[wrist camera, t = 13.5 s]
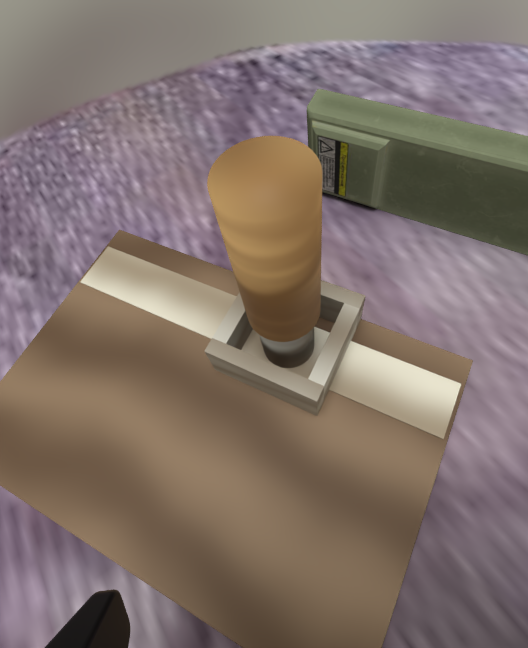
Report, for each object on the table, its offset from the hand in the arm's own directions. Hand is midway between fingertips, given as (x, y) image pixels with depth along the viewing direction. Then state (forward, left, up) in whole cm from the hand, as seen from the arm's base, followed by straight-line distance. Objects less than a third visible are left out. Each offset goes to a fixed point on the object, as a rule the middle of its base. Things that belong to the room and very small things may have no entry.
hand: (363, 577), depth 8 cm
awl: (+8, +6, -12) cm, 16 cm away
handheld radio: (+21, -2, -14) cm, 26 cm away
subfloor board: (+3, +9, -14) cm, 16 cm away
